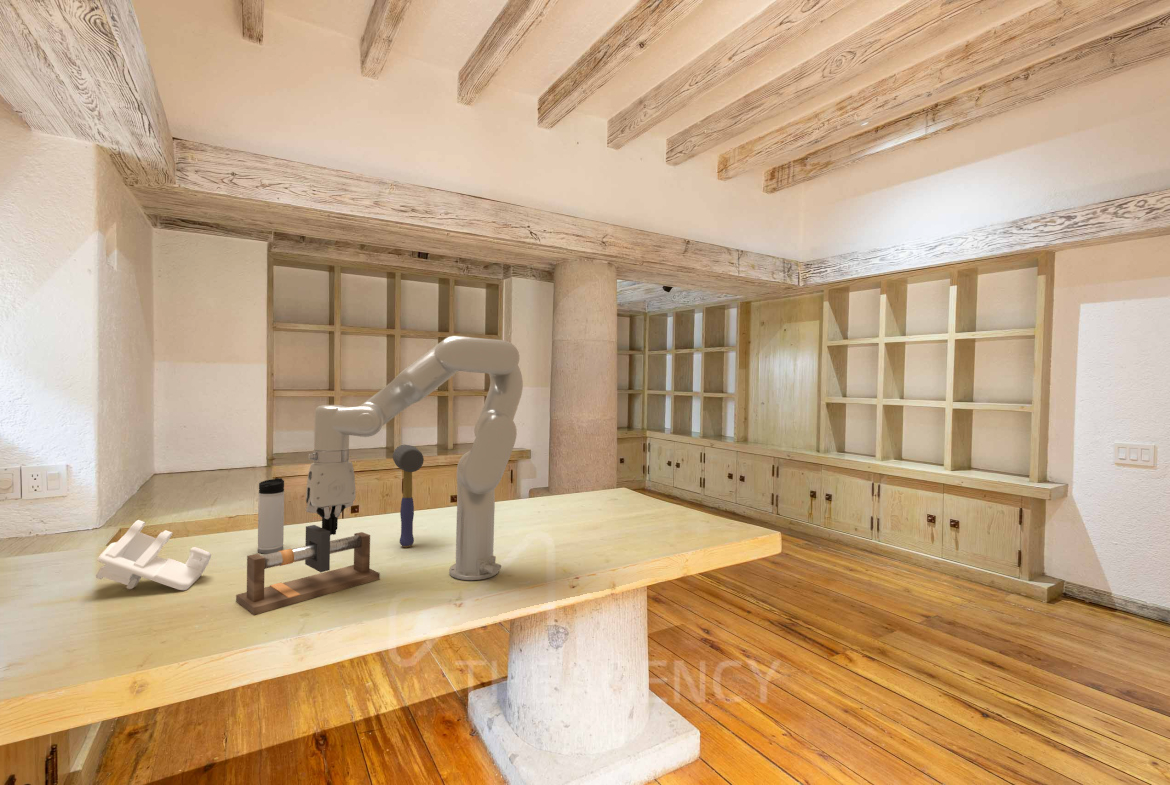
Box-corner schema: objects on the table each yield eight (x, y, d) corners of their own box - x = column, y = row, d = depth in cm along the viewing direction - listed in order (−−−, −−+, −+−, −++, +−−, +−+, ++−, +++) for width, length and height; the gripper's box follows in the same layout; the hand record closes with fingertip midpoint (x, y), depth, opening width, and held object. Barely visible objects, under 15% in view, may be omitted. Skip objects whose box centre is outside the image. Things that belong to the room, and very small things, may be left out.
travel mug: (288, 547, 155) (290, 478, 155) (273, 554, 149) (274, 482, 148) (268, 546, 156) (269, 477, 156) (252, 553, 149) (253, 481, 149)
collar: (313, 562, 129) (314, 524, 129) (329, 570, 124) (330, 531, 124) (305, 564, 128) (305, 526, 127) (320, 572, 123) (321, 533, 122)
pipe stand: (358, 569, 139) (359, 528, 139) (379, 579, 133) (380, 536, 133) (236, 601, 117) (236, 553, 117) (253, 614, 111) (254, 563, 111)
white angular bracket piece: (189, 595, 132) (219, 546, 134) (171, 614, 121) (203, 561, 123) (100, 564, 126) (132, 513, 128) (72, 581, 115) (108, 526, 117)
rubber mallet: (424, 550, 155) (425, 447, 155) (397, 554, 152) (398, 448, 151) (415, 539, 166) (416, 442, 166) (389, 542, 163) (391, 443, 162)
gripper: (305, 461, 120) (303, 543, 120) (369, 456, 131) (367, 531, 131) (291, 458, 124) (289, 537, 125) (354, 452, 136) (352, 525, 136)
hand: (329, 533), depth 128 cm, fingers closed
